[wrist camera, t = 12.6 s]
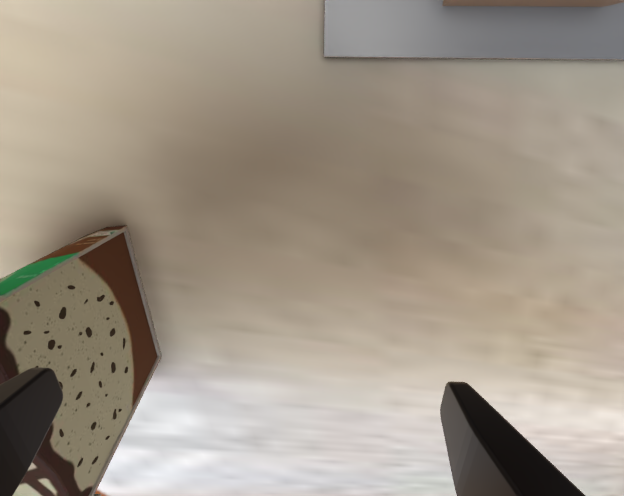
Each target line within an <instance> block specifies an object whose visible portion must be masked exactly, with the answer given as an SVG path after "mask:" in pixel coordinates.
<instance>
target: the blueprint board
mask: <svg viewBox="0 0 624 496" xmlns="http://www.w3.org/2000/svg"><path fill="white" fill-rule="evenodd" d="M324 57H356V58H462V59H568V60H624V0H325V23H324Z"/></svg>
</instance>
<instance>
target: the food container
mask: <svg viewBox="0 0 624 496" xmlns="http://www.w3.org/2000/svg"><path fill="white" fill-rule="evenodd" d="M161 357H162V356H161V352H160V348H159V344H158V341H157V337H156V333H155V329H154V326H153V322H152V318H151V314H150V311H149V307H148V303H147V299H146V296H145V292H144V288H143V284H142V281H141V277H140V273H139V269H138V266H137V262H136V258H135V254H134V250H133V247H132V243H131V239H130V235H129V232H128V228H127V225H126V226H115V227H106V228H104V229H101V230H99V231H96V232H94V233H92V234H89V235H87V236H84V237H82V238H80V239H78V240H76V241H74V242H72V243H71V244H69V245H67V246H65V247H63V248H61V249H59V250H57V251H55V252H53V253H51V254H49V255H47V256H45V257H43V258H41V259H39V260H37V261H35V262H33V263H31V264H29V265H27V266H25V267H23V268H21V269H19V270H17V271H15V272H14V273H12V274H10V275H8V276H6V277H4V278H2V279H0V384H2V383H4V382H6V381H8V380H10V379H11V378H13V377H15V376H17V375H19V374H21V373H22V372H24V371H26V370H28V369H30V368H34V367H40V368H51V369H52V370H54V372H55V374H56V377H57V379H58V381H59V384H60V386H61V389H62V391H63V401H62V404H61V406H60V408H59V410H58V412H57V414H56V416H55V418H54V420H53V422H52V424H51V426H50V428H49V430H48V432H47V434H46V436H45V438H44V440H43V442H42V444H41V446H40V448H39V450H38V452H37V454H36V456H35V458H34V460H33V462H32V463H31V465H30V467H29V469H28V471H27V473H26V474H25V476H24V478H23V480H22V481H21V483H20V485H19V486H18V488H17V489H16V491H15V493H14V494H13V496H101V495H100V494H95V492H96V490H97V488H98V486H99V484H100V482H101V480H102V478H103V475H104V473H105V471H106V469H107V467H108V465H109V463H110V461H111V459H112V457H113V455H114V453H115V451H116V449H117V447H118V445H119V443H120V441H121V439H122V437H123V435H124V432H125V430H126V428H127V426H128V424H129V422H130V420H131V418H132V416H133V414H134V412H135V410H136V408H137V406H138V404H139V402H140V400H141V398H142V396H143V394H144V391H145V389H146V387H147V385H148V383H149V381H150V379H151V377H152V375H153V373H154V371H155V369H156V367H157V365H158V363H159V361H160V359H161Z"/></svg>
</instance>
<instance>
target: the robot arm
mask: <svg viewBox="0 0 624 496" xmlns="http://www.w3.org/2000/svg"><path fill="white" fill-rule="evenodd" d="M62 401H63V391H62V389H61V386H60V384H59V381H58V379H57V377H56V374H55V372H54V370H52V369H51V368H40V367H34V368H30V369H28V370H26V371H24V372H22V373H21V374H19V375H17V376H15V377H13V378H11V379H10V380H8V381H6V382H4V383H2V384H0V496H13V494H14V493H15V491H16V489H17V488H18V486H19V485H20V483H21V481H22V480H23V478H24V476H25V474H26V473H27V471H28V469H29V467H30V465H31V463H32V462H33V460H34V458H35V456H36V454H37V452H38V450H39V448H40V446H41V444H42V442H43V440H44V438H45V436H46V434H47V432H48V430H49V428H50V426H51V424H52V422H53V420H54V418H55V416H56V414H57V412H58V410H59V408H60V406H61V404H62ZM440 414H441V421H442V426H443V431H444V436H445V441H446V446H447V451H448V456H449V461H450V466H451V471H452V476H453V481H454V486H455V490H456V494H457V496H585V495H584V494H583V493H582V492H581V491H580V490H579V489H578V488H577V487H576V486H575V485H574V484H573V483H572V482H571V481H569V480H568V479H567V478H566V477H565V476H564V475H563V474H562V473H561V472H560V471H559V470H558V469H557V468H556V467H555V466H554V465H553V464H552V463H551V462H550V461H548V460H547V459H546V458H545V457H544V456H543V455H542V454H541V453H540V452H539V451H538V450H537V449H536V448H535V447H534V446H533V445H532V444H531V443H530V442H529V441H528V440H526V439H525V438H524V437H523V436H522V435H521V434H520V433H519V432H518V431H517V430H516V429H515V428H514V427H513V426H512V425H511V424H510V423H509V422H508V421H507V420H506V419H504V418H503V417H502V416H501V415H500V414H499V413H498V412H497V411H496V410H495V409H494V408H493V407H492V406H491V405H490V404H489V403H488V402H487V401H486V400H485V399H484V398H482V397H481V396H480V395H479V394H478V393H477V392H476V391H475V390H474V389H473V388H472V387H471V386H470V385H469V384H467V383H465V382H448V383H447V384H446V386H445V391H444V395H443V399H442V403H441V409H440Z"/></svg>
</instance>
